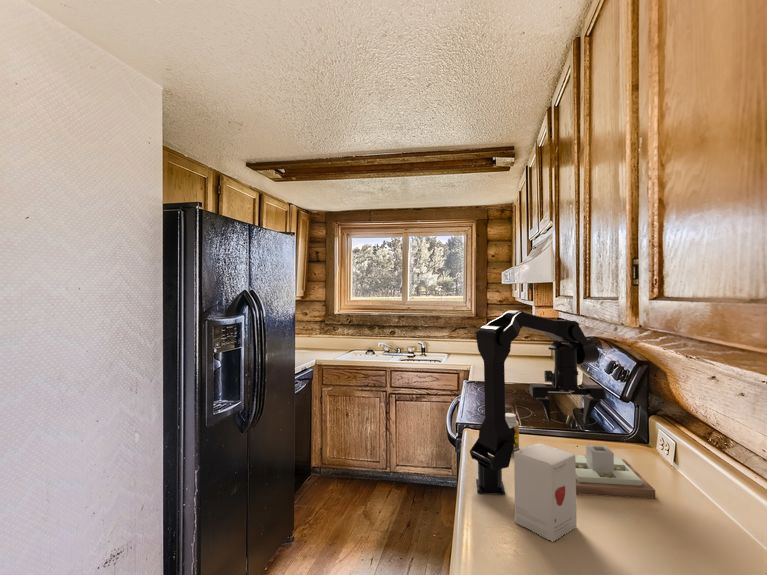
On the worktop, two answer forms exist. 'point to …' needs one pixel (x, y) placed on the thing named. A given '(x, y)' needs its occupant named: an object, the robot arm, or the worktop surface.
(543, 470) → the supplement box
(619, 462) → the flange plate
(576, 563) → the worktop surface
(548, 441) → the worktop surface
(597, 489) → the walnut board
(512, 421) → the supplement bottle
